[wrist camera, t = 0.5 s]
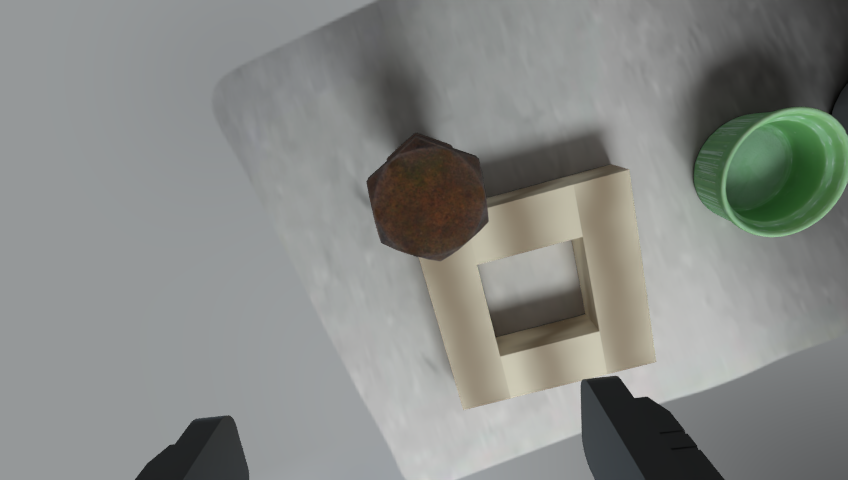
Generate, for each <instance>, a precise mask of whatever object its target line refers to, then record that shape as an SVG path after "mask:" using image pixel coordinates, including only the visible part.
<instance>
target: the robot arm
mask: <svg viewBox="0 0 848 480" xmlns="http://www.w3.org/2000/svg"><path fill="white" fill-rule="evenodd" d="M831 116H833V117H834V118H835V119H836V120H838V122H839V123H840V124H841V125H842V126H843V128H844V129H845V131H846V133H847V135H848V83H847V85H846V86H845V87H844V89H843V90H842V92H841V93H840V95H839V97H838V99H837V101H836V103H835V105H834V108H833V112H832V115H831ZM581 419H582V442H583V447H584V452H585V456H586V459H587V462H588V465H589V468H590V470H591V472H592V474H593V476H594V479H595V480H724V478H723V477H722V476H721V475H720V473H719V472H718V471H717V470H716V469H715V467H714V466H713V465H712V464H711V462H710V461H709V460H708V459H707V457H706V456H705V455H704V454H703V452H702V451H701V450H698V448H697V445H696V444H695V442H694V441H693V440H692V439H691V437H690V436H689V435H688V434H685V430H684V429H683V428H682V426H681V425H680V424H679V423H678V421H677V420H676V419H675V418H674V416H673V415H672V414H671V413H670V411H668V410H667V409H665V408H664V407H662V406H660V405H659V404H657V403H656V402H654V401H653V400H651V399H650V398H648V397H641V398H634V397H633V396H632V394H631V393H630V392H629V390H628V389H627V387H626V386H625V385H624V383H623V382H622V380H621V379H620V378H619V377H618V376H610V377H600V378H591V379H583V380H582V382H581ZM135 480H249V470H248V466H247V462H246V459H245V455H244V452H243V448H242V445H241V441H240V438H239V435H238V431H237V427H236V424H235V422H234V419H233V418H232V417H231V416H218V417H209V418H201V419H200V418H199V419H195V420H193V421H192V422H191V423H190V425H189V426H188V427H187V429H186V430H185V431H184V433H183V434H182V436H181V437H180V438H179V440H178V441H177V442H176V444H175V445H169V446H168V447H167V448H166V449H164V450H163V451H162V452H161V453H160V454H158V455H157V456H156V457H155V458H154V459H152V460H151V461H150V462H149V463H147V465H146V466H145V467H144V469H143V470H142V471H141V472H140V474H139V475H138V476H137V478H136V479H135Z"/></svg>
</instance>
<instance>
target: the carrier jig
mask: <svg viewBox="0 0 848 480" xmlns="http://www.w3.org/2000/svg"><path fill="white" fill-rule="evenodd" d="M486 199H487V207H488V217H489V222H488V223H487V224H486V225H485V226H484V227H483V228H482V229H481V230H480V232H478V233H477V234H476V235H475V236H474V237H473V238H472V239H471V240H469V241H468V242H467V243H466V244H465V245H464V246H463V247H461V248H460V249H459V250H458V251H456V252H455V253H453V254H452V255H450V256H449V257H447V258H446V259H444V260H442V261H435V260H428V259H425V258H421V257H419V260H420V263H421V267H422V270H423V274H424V277H425V280H426V284H427V287H428V291H429V294H430V298H431V301H432V304H433V308H434V311H435V315H436V318H437V321H438V325H439V328H440V332H441V335H442V339H443V342H444V345H445V349H446V352H447V356H448V359H449V362H450V366H451V369H452V373H453V376H454V380H455V383H456V386H457V390H458V393H459V397H460V400H461V403H462V407H463V410H466V409H470V408H474V407H478V406H482V405H486V404H490V403H494V402H498V401H502V400H506V399H510V398H514V397H518V396H522V395H526V394H530V393H534V392H538V391H542V390H546V389H550V388H554V387H558V386H562V385H566V384H570V383H574V382H578V381H582V380H583V379H590V378H594V377H598V376H602V375H606V374H610V373H614V372H618V371H622V370H626V369H630V368H634V367H638V366H642V365H646V364H650V363H654V362H656V357H655V350H654V342H653V335H652V328H651V321H650V314H649V307H648V300H647V293H646V285H645V278H644V271H643V264H642V257H641V250H640V243H639V236H638V228H637V221H636V214H635V207H634V200H633V193H632V186H631V178H630V171H629V169H626V168H622V167H619V166H615V165H612V164H610V165H607V166H603V167H599V168H596V169H592V170H588V171H585V172H581V173H577V174H574V175H570V176H566V177H563V178H559V179H555V180H552V181H548V182H544V183H541V184H537V185H533V186H530V187H526V188H522V189H519V190H515V191H511V192H508V193H504V194H500V195H497V196H493V197H489V198H486ZM569 240H572V245H573V250H574V256H575V261H576V266H577V272H578V277H579V282H580V288H581V293H582V299H583V304H584V309H585V315H581V316H577V317H573V318H569V319H565V320H562V321H558V322H554V323H550V324H546V325H542V326H538V327H534V328H530V329H527V330H523V331H519V332H515V333H511V334H507V335H503V336H499V337H495V334H494V330H493V326H492V322H491V318H490V314H489V310H488V306H487V302H486V298H485V295H484V291H483V287H482V283H481V279H480V275H479V271H478V267H477V265H479V264H483V263H486V262H490V261H494V260H498V259H501V258H505V257H509V256H513V255H516V254H520V253H524V252H528V251H531V250H535V249H539V248H543V247H547V246H550V245H554V244H558V243H562V242H565V241H569Z"/></svg>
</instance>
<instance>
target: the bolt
mask: <svg viewBox="0 0 848 480" xmlns="http://www.w3.org/2000/svg"><path fill="white" fill-rule="evenodd" d="M367 187H368V192H369V198H370V202H371V206H372V211H373V215H374V220H375V224H376V228H377V231H378V234H379V238H380V241H381V243H383V244H385V245H387V246H389V247H391V248H393V249H396V250H398V251H401V252H404V253H407V254H410V255H414V256H417V257H421V258H425V259H428V260H435V261H442V260H444V259H446V258H447V257H449V256H450V255H452V254H453V253H455V252H456V251H458V250H459V249H460V248H461V247H463V246H464V245H465V244H466V243H467V242H468V241H469V240H471V239H472V238H473V237H474V236H475V235H476V234H477V233H478V232H480V230H481V229H482V228H483V227H484V226H485V225H486V224H487V223H488V222H489V217H488V207H487V199H486V194H485V188H484V182H483V176H482V171H481V167H480V162H479V158H477V157H476V156H475V155H472V154H469V153H466V152H463V151H460V150H457V149H454V148H453V147H452V146H451V145H450V144H447V143H444V142H442V141H439V140H436V139H433V138H430V137H427V136H424V135H421V134H418V133H414V134H413V135H412V136H411V137H410V138H409V139H407V140H406V141H405V142H404V143H403V144H402V145H401V146H400V147H399V148H398V149H396V150H395V151H394V152H393V153H392V154H391V155H390V156H389V157H388V158H387V161H386V162H385V163H384V164H383V165H382V166H381V167H380V168H379V169H378V170H376V171H375V172H374V173H373V174H372V175H371V176H370V177H369V178H368V180H367Z"/></svg>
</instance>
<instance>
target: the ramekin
mask: <svg viewBox="0 0 848 480" xmlns="http://www.w3.org/2000/svg"><path fill="white" fill-rule="evenodd" d="M847 181H848V135H847V133H846V131H845V129H844V128H843V126H842V125H841V124H840V123H839V122H838V120H836V119H835V118H834V117H833V116H831V115H830V114H828V113H826V112H824V111H822V110H819V109H815V108H810V107H790V108H785V109H780V110H776V111H773V112H765V113H755V114H748V115H744V116H740V117H737V118H735V119H733V120H730V121H729V122H727V123H725V124H724V125H722V126H721V127H720V128H718V129H717V130H716V131H715V132H714V133H713V134H712V135H711V136H710V137H709V138H708V139H707V141H706V142H705V143H704V145H703V146H702V148H701V150H700V152H699V154H698V157H697V159H696V163H695V169H694V184H695V188H696V191H697V194H698V196H699V198H700V199H701V201H702V203H703V204H704V205H705V206H706V207H707V208H708V209H709V210H711V211H712V212H713V213H715V214H717V215H719V216H721V217H723V218H725V219H727V220H729V221H731V222H732V223H734V224H735V225H736V226H738V227H739V228H741V229H742V230H744V231H746V232H749V233H751V234H754V235H758V236H765V237H780V236H786V235H790V234H794V233H797V232H799V231H801V230H804V229H806V228H808V227H809V226H811V225H813V224H814V223H816V222H817V221H819V220H820V219H821V218H822V217H823V216H825V215H826V214H827V213H828V212H829V211H830V210H831V208H832V207H833V206H834V205H835V204H836V202H837V201H838V199H839V198H840V196H841V195H842V193H843V191H844V189H845V187H846V184H847Z"/></svg>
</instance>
